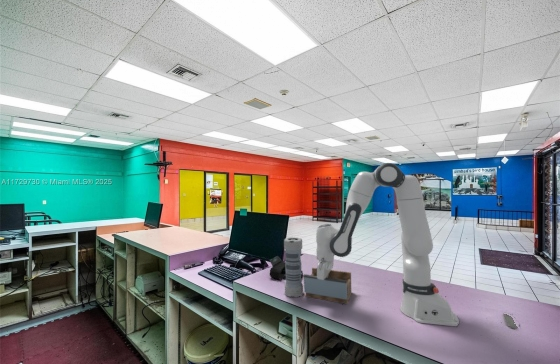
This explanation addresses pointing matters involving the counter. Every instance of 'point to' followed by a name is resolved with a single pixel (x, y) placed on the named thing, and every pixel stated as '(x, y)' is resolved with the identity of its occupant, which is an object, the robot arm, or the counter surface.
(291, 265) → the canister
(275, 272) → the virtual reality headset
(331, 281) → the panel
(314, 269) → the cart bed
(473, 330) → the counter surface
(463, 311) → the counter surface
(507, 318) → the stone tool
